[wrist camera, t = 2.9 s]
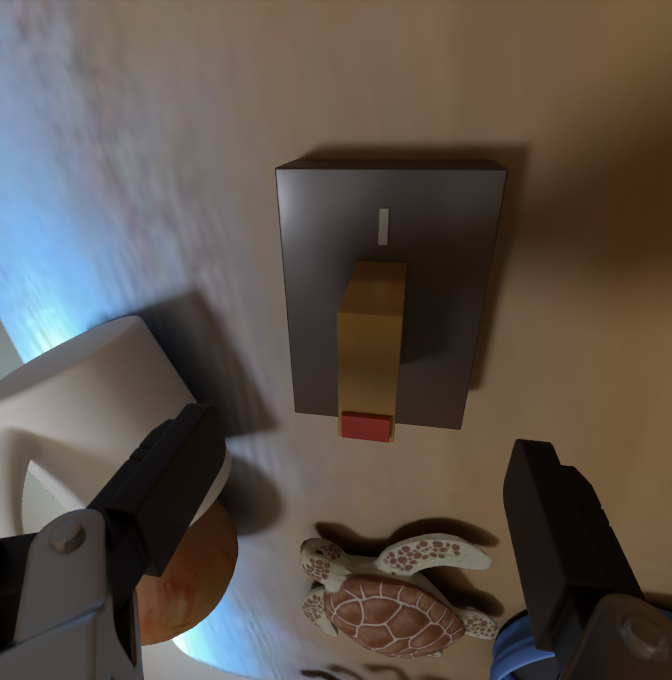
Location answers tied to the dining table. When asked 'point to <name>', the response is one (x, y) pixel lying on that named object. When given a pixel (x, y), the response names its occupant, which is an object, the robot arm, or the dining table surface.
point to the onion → (189, 578)
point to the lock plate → (390, 246)
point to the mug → (86, 416)
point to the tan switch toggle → (370, 350)
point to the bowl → (525, 654)
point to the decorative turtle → (393, 595)
